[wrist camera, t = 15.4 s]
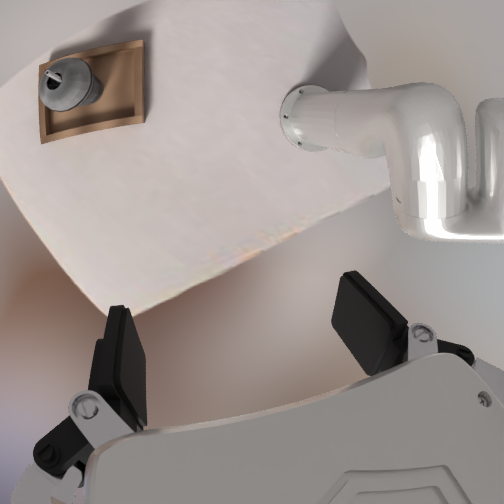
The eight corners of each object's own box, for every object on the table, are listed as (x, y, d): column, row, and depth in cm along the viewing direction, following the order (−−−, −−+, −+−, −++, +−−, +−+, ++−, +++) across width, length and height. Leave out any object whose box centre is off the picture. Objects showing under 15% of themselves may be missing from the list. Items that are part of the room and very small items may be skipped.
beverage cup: (69, 78, 30) (8, 61, 13) (109, 65, 32) (68, 32, 15) (73, 118, 34) (12, 123, 17) (114, 105, 35) (71, 97, 18)
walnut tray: (144, 44, 32) (142, 39, 30) (144, 122, 39) (142, 122, 36) (46, 67, 28) (39, 65, 26) (48, 142, 35) (41, 144, 32)
